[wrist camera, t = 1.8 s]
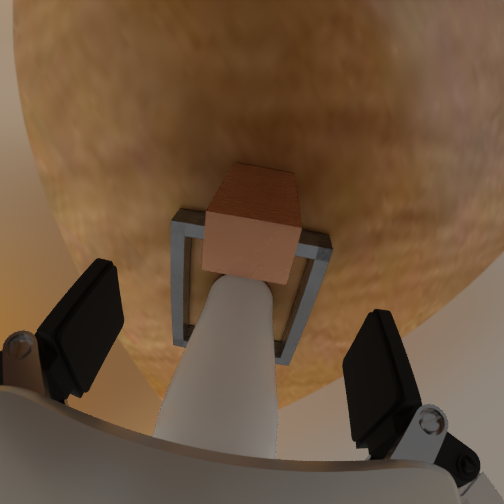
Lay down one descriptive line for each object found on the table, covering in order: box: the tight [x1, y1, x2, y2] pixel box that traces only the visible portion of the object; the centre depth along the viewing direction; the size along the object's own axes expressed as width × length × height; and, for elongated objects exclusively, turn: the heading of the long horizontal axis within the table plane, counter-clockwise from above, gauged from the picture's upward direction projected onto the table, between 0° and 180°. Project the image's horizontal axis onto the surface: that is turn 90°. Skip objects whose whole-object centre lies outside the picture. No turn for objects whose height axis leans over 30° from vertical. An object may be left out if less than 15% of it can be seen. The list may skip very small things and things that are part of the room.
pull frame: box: [171, 163, 333, 366], centre depth 20 cm, size 17×11×8 cm, turn 171°
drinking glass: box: [153, 274, 278, 459], centre depth 18 cm, size 7×7×15 cm
